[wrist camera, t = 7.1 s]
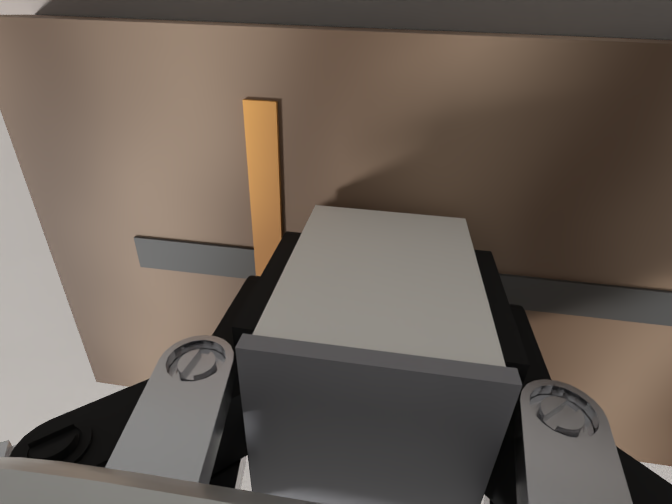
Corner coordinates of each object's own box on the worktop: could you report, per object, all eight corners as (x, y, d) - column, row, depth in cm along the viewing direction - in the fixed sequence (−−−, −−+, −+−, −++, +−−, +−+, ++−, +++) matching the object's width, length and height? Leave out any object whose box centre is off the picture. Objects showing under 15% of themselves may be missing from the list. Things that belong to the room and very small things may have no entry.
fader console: (1440, 70, 8) (1739, 87, 6) (962, 458, 14) (1044, 524, 12) (32, 14, 12) (-38, 15, 10) (127, 345, 18) (94, 383, 16)
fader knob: (470, 214, 10) (522, 385, 5) (440, 360, 12) (458, 564, 8) (311, 201, 10) (235, 348, 6) (310, 343, 13) (256, 528, 8)
